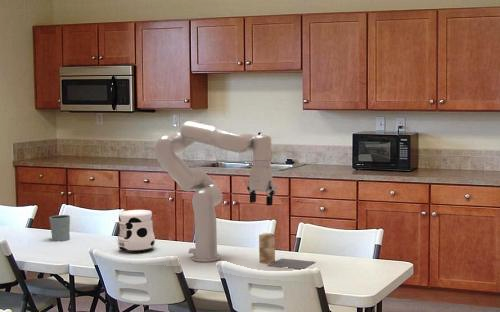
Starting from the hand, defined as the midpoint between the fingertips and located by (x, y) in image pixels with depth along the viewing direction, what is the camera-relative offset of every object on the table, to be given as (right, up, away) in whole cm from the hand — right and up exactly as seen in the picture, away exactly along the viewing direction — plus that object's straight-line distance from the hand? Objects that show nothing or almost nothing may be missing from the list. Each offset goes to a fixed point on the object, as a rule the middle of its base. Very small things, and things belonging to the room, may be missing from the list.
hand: (261, 203), depth 323 cm
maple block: (+3, -25, +3) cm, 25 cm away
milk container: (-58, -24, +32) cm, 70 cm away
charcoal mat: (+13, -26, -2) cm, 29 cm away
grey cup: (-101, -22, +60) cm, 119 cm away
